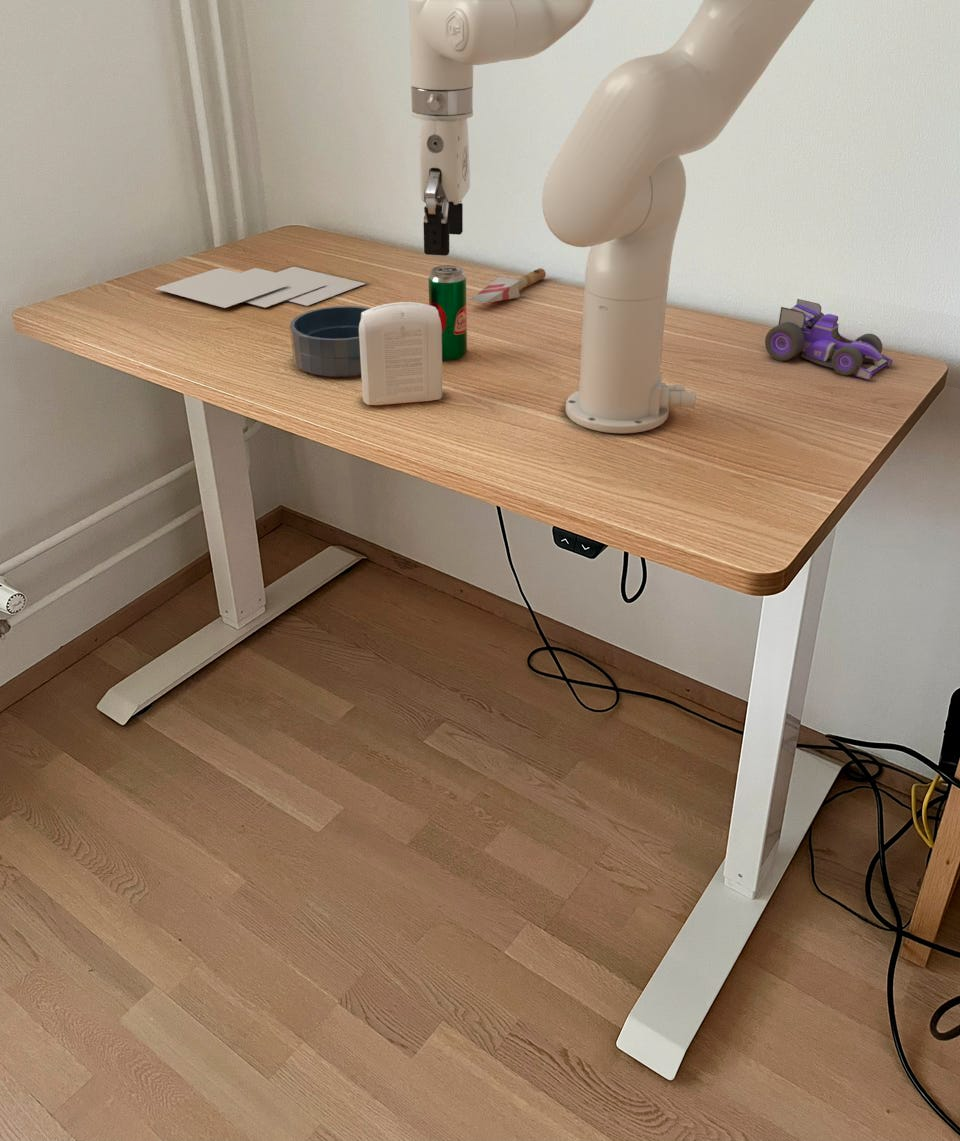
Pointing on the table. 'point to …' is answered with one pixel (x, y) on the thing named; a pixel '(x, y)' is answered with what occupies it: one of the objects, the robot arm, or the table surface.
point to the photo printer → (401, 353)
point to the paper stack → (260, 287)
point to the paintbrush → (508, 287)
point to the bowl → (328, 341)
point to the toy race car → (823, 341)
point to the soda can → (450, 309)
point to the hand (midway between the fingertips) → (443, 243)
